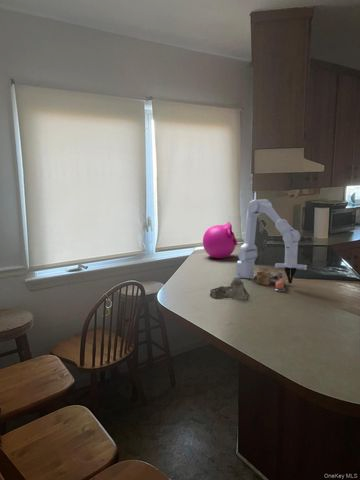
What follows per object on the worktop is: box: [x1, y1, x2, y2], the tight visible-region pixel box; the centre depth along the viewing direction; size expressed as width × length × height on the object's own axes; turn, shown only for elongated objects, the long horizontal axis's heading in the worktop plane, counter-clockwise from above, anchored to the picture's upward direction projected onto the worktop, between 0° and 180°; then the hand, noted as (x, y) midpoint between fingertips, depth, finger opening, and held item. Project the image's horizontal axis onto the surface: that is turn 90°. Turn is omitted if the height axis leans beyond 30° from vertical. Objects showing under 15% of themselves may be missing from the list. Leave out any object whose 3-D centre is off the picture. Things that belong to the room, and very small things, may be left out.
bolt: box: [269, 270, 284, 282], centre depth 180 cm, size 11×4×6 cm, turn 69°
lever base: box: [273, 287, 286, 293], centre depth 167 cm, size 5×5×1 cm
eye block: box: [256, 267, 272, 286], centre depth 181 cm, size 6×8×6 cm
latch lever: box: [275, 277, 285, 290], centre depth 170 cm, size 4×10×3 cm, turn 159°
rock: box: [209, 277, 250, 300], centre depth 159 cm, size 18×11×10 cm, turn 83°
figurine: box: [202, 221, 238, 259], centre depth 243 cm, size 23×24×25 cm
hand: (290, 283), depth 169 cm, fingers closed
